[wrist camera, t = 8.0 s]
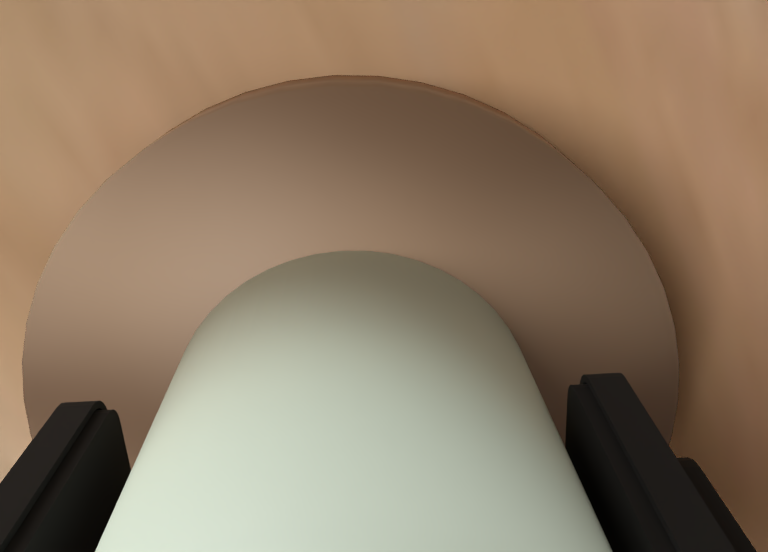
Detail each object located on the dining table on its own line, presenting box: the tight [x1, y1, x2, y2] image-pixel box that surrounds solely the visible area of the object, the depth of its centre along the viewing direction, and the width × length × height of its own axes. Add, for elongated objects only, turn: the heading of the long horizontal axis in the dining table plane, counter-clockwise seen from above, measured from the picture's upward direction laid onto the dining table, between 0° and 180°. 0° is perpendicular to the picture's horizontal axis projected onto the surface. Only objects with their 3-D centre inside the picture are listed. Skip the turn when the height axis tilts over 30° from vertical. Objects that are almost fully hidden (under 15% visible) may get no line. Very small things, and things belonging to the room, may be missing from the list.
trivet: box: [22, 75, 679, 470], centre depth 13 cm, size 14×11×4 cm
